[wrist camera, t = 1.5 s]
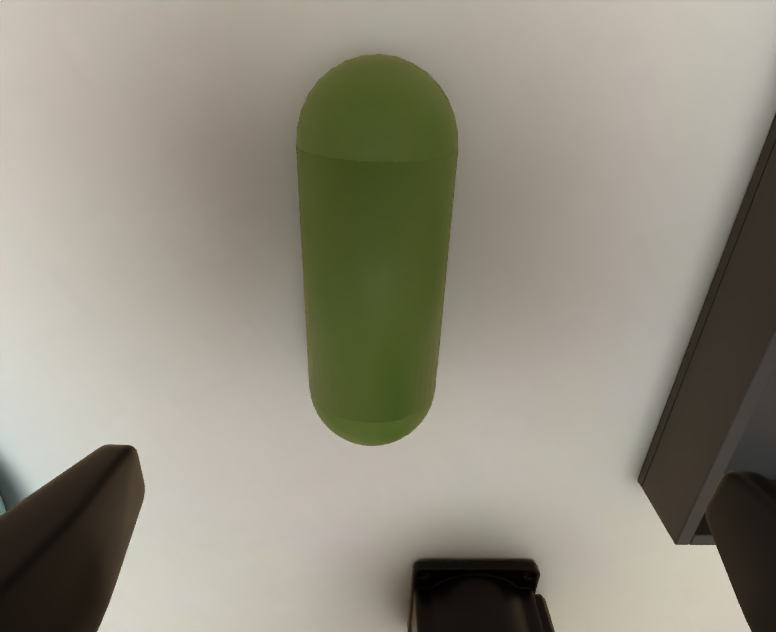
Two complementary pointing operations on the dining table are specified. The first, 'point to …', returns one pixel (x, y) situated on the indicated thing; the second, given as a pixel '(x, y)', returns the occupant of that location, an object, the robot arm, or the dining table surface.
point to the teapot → (2, 506)
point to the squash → (375, 242)
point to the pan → (724, 375)
